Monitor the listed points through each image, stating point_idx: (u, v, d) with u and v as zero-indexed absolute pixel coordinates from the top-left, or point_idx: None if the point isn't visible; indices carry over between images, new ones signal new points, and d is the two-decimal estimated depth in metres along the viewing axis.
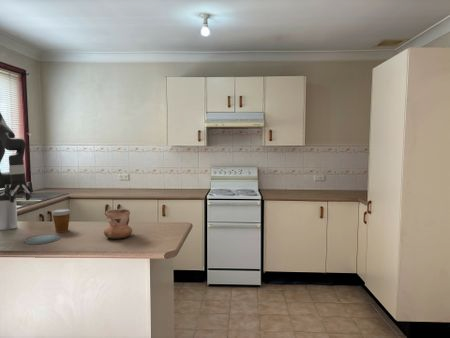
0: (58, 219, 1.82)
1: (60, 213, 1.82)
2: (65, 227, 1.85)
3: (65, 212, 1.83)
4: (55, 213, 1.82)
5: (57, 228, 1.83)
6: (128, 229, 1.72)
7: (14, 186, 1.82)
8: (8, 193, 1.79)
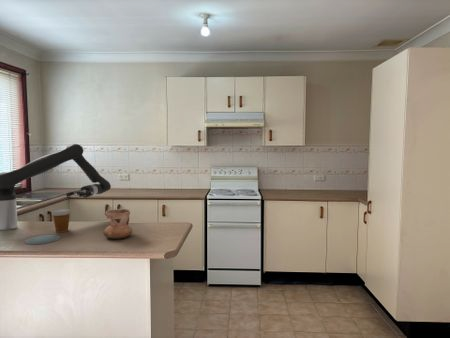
0: (58, 219, 1.82)
1: (60, 213, 1.82)
2: (65, 227, 1.85)
3: (65, 212, 1.83)
4: (55, 213, 1.82)
5: (57, 228, 1.83)
6: (128, 229, 1.72)
7: None
8: (88, 195, 2.00)
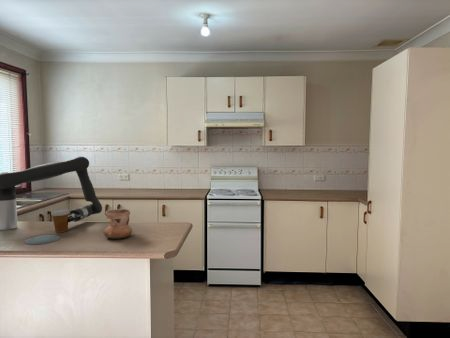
0: (57, 219, 1.82)
1: (59, 213, 1.81)
2: (65, 227, 1.85)
3: (64, 212, 1.83)
4: (54, 213, 1.81)
5: (57, 228, 1.83)
6: (128, 229, 1.72)
7: None
8: None
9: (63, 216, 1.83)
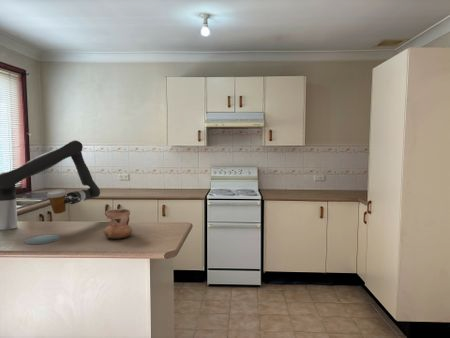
0: (54, 201, 1.79)
1: (55, 195, 1.78)
2: (62, 208, 1.83)
3: (60, 194, 1.80)
4: (50, 195, 1.78)
5: (54, 210, 1.81)
6: (128, 229, 1.72)
7: None
8: None
9: (60, 198, 1.80)
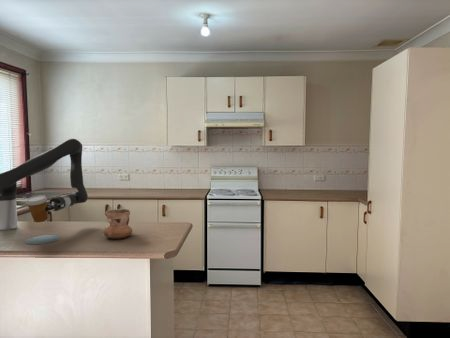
0: (34, 209, 1.62)
1: (35, 202, 1.61)
2: (43, 216, 1.66)
3: (40, 201, 1.62)
4: (29, 203, 1.61)
5: (34, 218, 1.64)
6: (128, 229, 1.72)
7: None
8: None
9: (40, 205, 1.63)
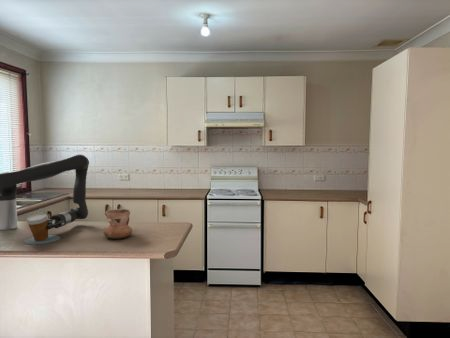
0: (34, 228, 1.63)
1: (35, 222, 1.62)
2: (44, 235, 1.66)
3: (41, 220, 1.63)
4: (30, 222, 1.61)
5: (35, 237, 1.65)
6: (128, 229, 1.72)
7: None
8: None
9: (40, 224, 1.63)
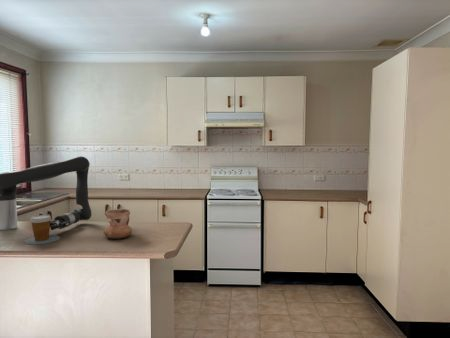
0: (37, 227, 1.64)
1: (39, 220, 1.64)
2: (45, 235, 1.67)
3: (45, 219, 1.66)
4: (33, 220, 1.64)
5: (36, 237, 1.66)
6: (128, 229, 1.72)
7: None
8: None
9: (43, 223, 1.65)
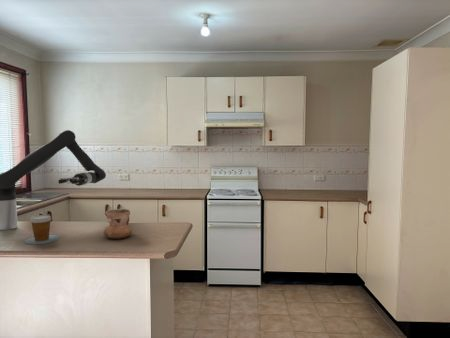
0: (37, 227, 1.64)
1: (39, 220, 1.64)
2: (45, 235, 1.67)
3: (45, 219, 1.66)
4: (33, 220, 1.64)
5: (36, 237, 1.66)
6: (128, 229, 1.72)
7: None
8: (81, 183, 1.91)
9: (43, 223, 1.65)
